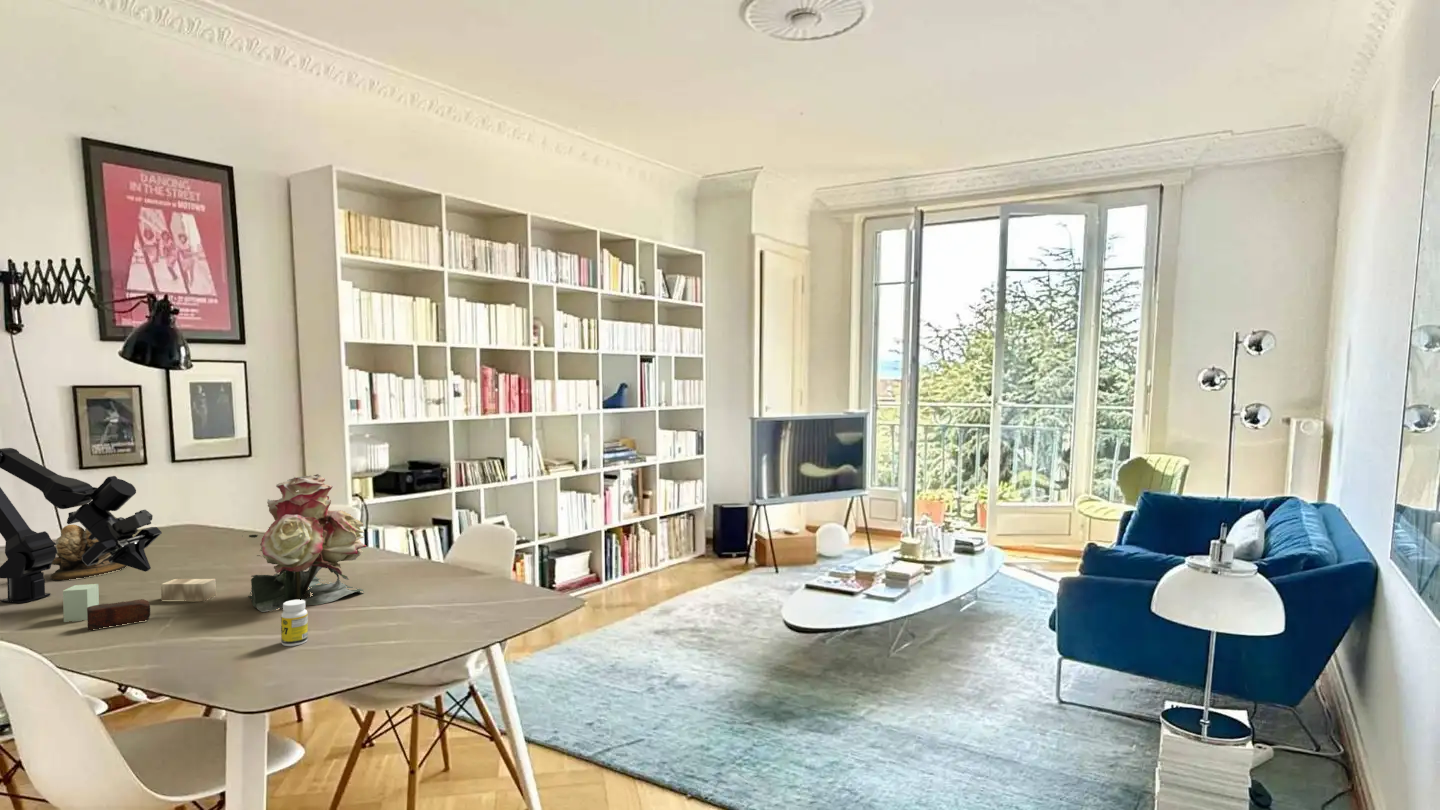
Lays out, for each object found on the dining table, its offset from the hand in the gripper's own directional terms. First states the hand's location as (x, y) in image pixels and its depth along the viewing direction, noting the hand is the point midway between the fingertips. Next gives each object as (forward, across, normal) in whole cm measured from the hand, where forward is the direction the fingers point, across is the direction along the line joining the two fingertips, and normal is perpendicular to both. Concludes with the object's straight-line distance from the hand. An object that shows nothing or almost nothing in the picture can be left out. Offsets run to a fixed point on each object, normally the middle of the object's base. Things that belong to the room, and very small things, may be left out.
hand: (148, 570), depth 180 cm
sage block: (+2, -14, +8) cm, 17 cm away
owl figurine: (-18, +24, +29) cm, 42 cm away
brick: (+10, -18, 0) cm, 21 cm away
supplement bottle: (+40, -30, -32) cm, 60 cm away
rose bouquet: (+31, +4, -21) cm, 38 cm away
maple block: (+7, 0, 0) cm, 7 cm away
